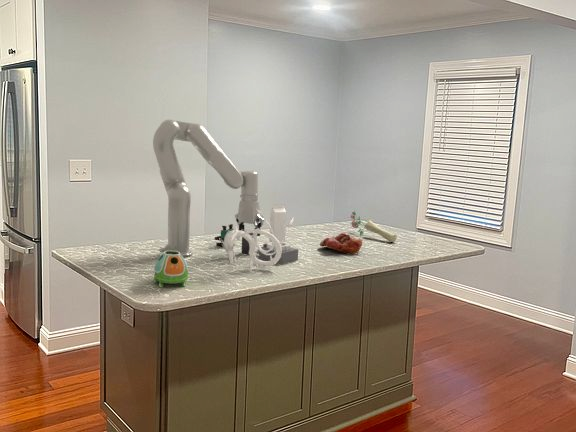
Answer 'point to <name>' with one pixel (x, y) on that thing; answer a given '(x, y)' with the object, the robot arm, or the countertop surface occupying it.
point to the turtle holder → (171, 268)
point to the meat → (343, 243)
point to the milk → (278, 222)
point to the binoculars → (224, 234)
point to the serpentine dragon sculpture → (252, 242)
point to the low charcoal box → (287, 253)
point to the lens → (245, 245)
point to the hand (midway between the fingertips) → (249, 234)
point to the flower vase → (373, 228)
